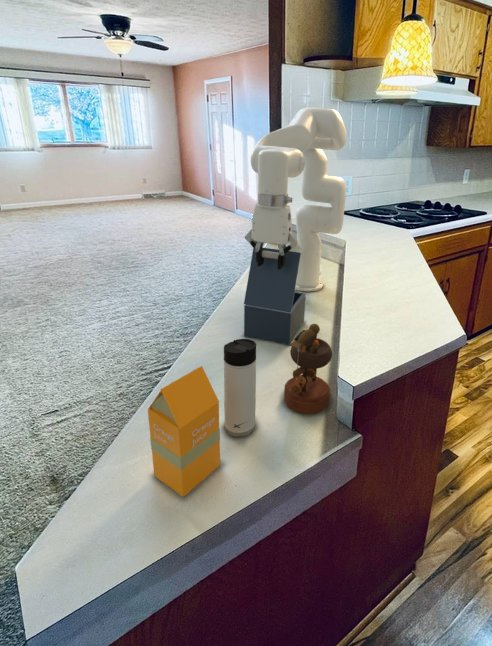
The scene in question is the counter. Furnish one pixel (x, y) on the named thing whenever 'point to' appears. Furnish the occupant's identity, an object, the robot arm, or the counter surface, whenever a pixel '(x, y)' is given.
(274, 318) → the box
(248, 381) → the travel mug
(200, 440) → the orange juice
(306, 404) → the music box
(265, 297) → the lid
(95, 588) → the counter surface
